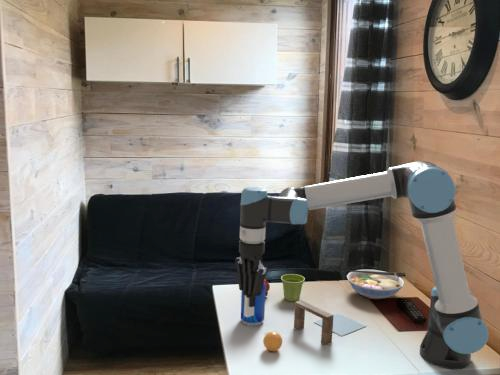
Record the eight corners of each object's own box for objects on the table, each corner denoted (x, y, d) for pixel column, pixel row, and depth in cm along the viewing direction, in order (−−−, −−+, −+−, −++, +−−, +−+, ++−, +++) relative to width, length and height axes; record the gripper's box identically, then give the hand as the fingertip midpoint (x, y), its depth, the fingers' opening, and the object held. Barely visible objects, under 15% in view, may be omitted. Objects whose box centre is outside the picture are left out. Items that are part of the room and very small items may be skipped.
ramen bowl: (342, 303, 205) (344, 283, 203) (343, 283, 227) (344, 265, 226) (408, 310, 201) (410, 290, 199) (402, 288, 223) (404, 270, 221)
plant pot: (302, 304, 203) (303, 283, 201) (278, 302, 205) (279, 280, 203) (304, 295, 212) (305, 275, 210) (281, 293, 214) (282, 272, 212)
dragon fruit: (255, 306, 204) (257, 298, 216) (273, 294, 203) (274, 287, 215) (243, 287, 204) (245, 281, 216) (261, 276, 203) (263, 270, 215)
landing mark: (366, 326, 185) (366, 326, 185) (341, 336, 177) (341, 335, 177) (338, 313, 195) (338, 313, 195) (313, 322, 187) (313, 322, 187)
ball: (285, 351, 166) (286, 333, 165) (271, 356, 162) (272, 338, 161) (273, 343, 171) (274, 326, 170) (259, 349, 167) (259, 331, 166)
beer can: (259, 328, 181) (261, 284, 179) (237, 324, 184) (238, 281, 181) (267, 318, 189) (268, 276, 186) (245, 314, 192) (246, 273, 189)
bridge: (299, 325, 184) (301, 299, 183) (331, 342, 173) (333, 315, 171) (293, 328, 182) (295, 301, 181) (325, 345, 171) (327, 317, 169)
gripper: (228, 236, 156) (226, 310, 160) (256, 247, 146) (252, 326, 150) (248, 233, 161) (245, 305, 165) (276, 243, 151) (272, 320, 155)
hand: (248, 315), depth 158 cm, fingers closed
